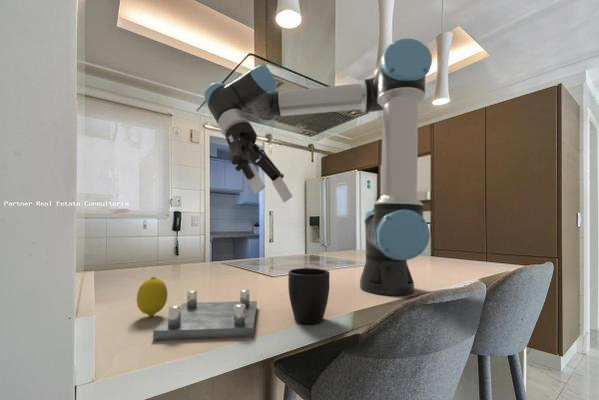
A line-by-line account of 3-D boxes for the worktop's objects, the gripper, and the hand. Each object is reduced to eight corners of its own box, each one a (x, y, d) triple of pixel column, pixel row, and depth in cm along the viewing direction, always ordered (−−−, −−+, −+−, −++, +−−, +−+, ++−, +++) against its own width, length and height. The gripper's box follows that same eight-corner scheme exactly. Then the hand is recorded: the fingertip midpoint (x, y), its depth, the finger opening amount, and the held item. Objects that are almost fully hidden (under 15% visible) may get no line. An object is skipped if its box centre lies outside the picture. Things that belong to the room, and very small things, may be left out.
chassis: (256, 307, 63) (257, 287, 63) (252, 336, 47) (253, 309, 47) (183, 309, 61) (183, 288, 61) (152, 340, 45) (154, 311, 46)
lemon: (161, 310, 61) (162, 273, 61) (170, 316, 57) (172, 276, 57) (132, 316, 57) (134, 276, 57) (140, 323, 53) (142, 280, 53)
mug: (309, 306, 64) (309, 264, 65) (337, 324, 53) (337, 273, 54) (275, 311, 61) (276, 266, 62) (298, 330, 50) (298, 276, 51)
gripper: (254, 153, 86) (287, 209, 78) (192, 122, 63) (231, 196, 56) (272, 138, 84) (307, 194, 76) (215, 99, 61) (258, 173, 54)
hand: (275, 195), depth 66 cm, fingers open, 13 cm apart
